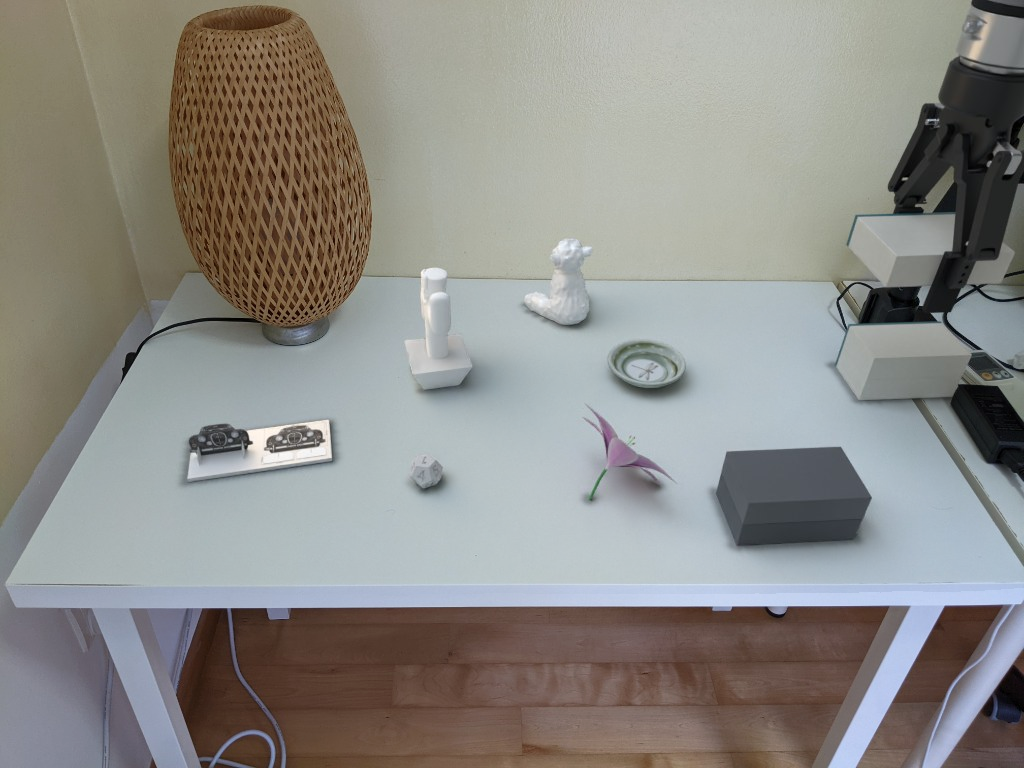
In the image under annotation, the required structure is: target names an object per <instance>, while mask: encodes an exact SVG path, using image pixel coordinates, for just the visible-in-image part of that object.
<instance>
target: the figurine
mask: <svg viewBox="0 0 1024 768" xmlns="http://www.w3.org/2000/svg"><path fill="white" fill-rule="evenodd" d="M420 279H421V281H420V293H419V295H420V306H421V307H420V308H421V317H422V319H423V320H424V326H425V329H424V330H425V337H421V338H415V339H406V340H403V342H404V345H405V349H406V350H405V351H406V354H407V359H408V362H409V365H410V370H411V374H412V376H413V377H414V379H415V380H416V381H417V383H418V384H419V385H420V386H421V388H422V389H423V390H425V391H426V390H434V389H439V388H441V389H442V388H448V387H455V386H460V385H461V384H462V382H463V380H464V379H465V378H466V377H467V375H468V373H470V371H471V370H472V368H473V367H474V366H473V364H472V361H471V359H470V355H469V353H468V349H467V347H466V343H465V341H464V338H463V335H462V333H453V334H448V333H449V332H450V330H451V327H452V309H451V306H452V305H451V297H450V295H449V294H448V293H447V284H448V272H447V271H446V270H445V269H443V268H440V267H429V268H427V269H425V268H423V269H422V270H421V272H420Z"/></svg>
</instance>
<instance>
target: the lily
mask: <svg viewBox="0 0 1024 768" xmlns="http://www.w3.org/2000/svg"><path fill="white" fill-rule="evenodd" d="M583 404H584V405H585V407H587V408H588V409H589V410H590V411H591V412H592V413H593V414H594V416H595V418H596V419H597V421H598V424H599V426H600V427H599V426H598V425H597V424H595V423H594V422H593V421H592V420H590V419H588V418H587V417H585V416H582V417H581V418H582V419H583V420H585V421H586V422H587V423H588V424H590V425H591V426H592V427H593V428H594V429H595V430H596V431H597V432H598V433H600V435H601V437H602V439H603V444H604V447H605V455H606V465H605V468H604V469H603V470H602V471H601V474H600V475H599V477H598V479H597V480H596V482H595V485H594V486H593V489H592V490H591V493H590V495H589V497H588V499H589V500H591V501H592V499H593V497H594V496H595V493H596V492H597V491H596V490H597V489H598V487H599V484H600V482H601V480H602V479H603V477H604V475H605V474H606V473H607V472H608V470H609V469H612V468H636V469H639V470H642V471H643V472H645V473H646V474H647V475H648V476H649V477H650V478H652V479H653V481H654V482H656V484H658V485H659V486H661V483H660V481H659V480H658V479H657V477H656V476H655V475H654V474H653V472H652V471H649V470H653V471H656V472H659V473H661V474H663V475H664V476H665V477H667V478H668V479H669V480H671V481H672V482H674V483H675V484H676V485H678V483H677V481H675V480H674V479H673V478H672V477H671V475H669V473H667V472H666V471H665V470H664V469H663V468H661V466H659V465H658V464H657V463H655V462H654V461H653V460H651V459H650V458H648V457H646V456H644V455H642V454H639V453H637V452H636V451H635V450H634V449H633V448H631V446H635V444H636V442H633V441H634V440H635V439H636V436H633V437H632V435H630V436H629V437H628V440H627V441H626V442H625V441H624V440H622V439H621V438H620V437H619V435H618V434H617V431H616V430H615V428H614V427H613V426H612V425H611V424H610V423H609V422H608V421H607V420H606V419H605V418H604V417H603V416H602V415H600V413H598V412H597V411H596V410H594V408H592V407H590V406H589V405H588V404H586V403H585V402H583ZM631 437H632V438H631ZM647 469H649V470H647Z"/></svg>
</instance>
